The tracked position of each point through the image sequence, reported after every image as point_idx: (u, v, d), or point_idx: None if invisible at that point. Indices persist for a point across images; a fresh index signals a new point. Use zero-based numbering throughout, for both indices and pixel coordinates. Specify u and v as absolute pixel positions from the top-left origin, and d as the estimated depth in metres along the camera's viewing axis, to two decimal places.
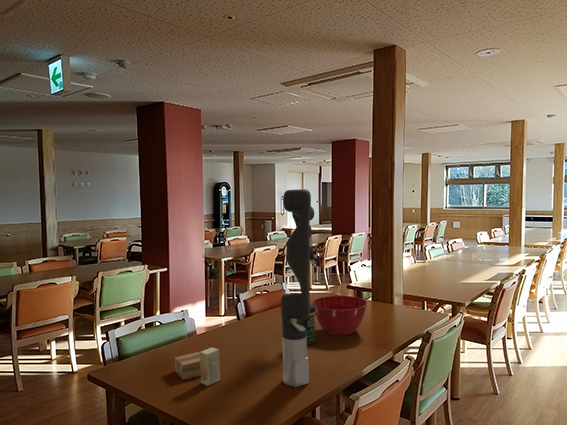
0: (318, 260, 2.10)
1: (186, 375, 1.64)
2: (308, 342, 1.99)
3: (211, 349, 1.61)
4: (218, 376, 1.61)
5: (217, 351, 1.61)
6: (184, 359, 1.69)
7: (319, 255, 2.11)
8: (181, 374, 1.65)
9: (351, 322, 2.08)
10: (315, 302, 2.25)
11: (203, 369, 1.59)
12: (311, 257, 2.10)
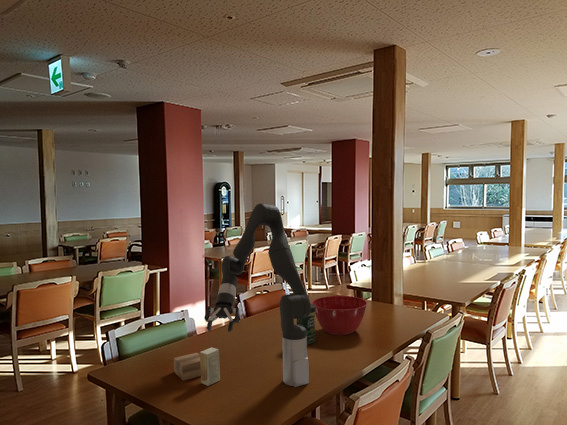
0: (236, 313, 1.76)
1: (186, 376, 1.64)
2: (308, 342, 1.99)
3: (211, 349, 1.61)
4: (218, 376, 1.61)
5: (217, 351, 1.61)
6: (184, 360, 1.68)
7: (239, 312, 1.79)
8: (181, 375, 1.64)
9: (351, 322, 2.08)
10: (315, 302, 2.25)
11: (203, 369, 1.59)
12: (229, 309, 1.78)
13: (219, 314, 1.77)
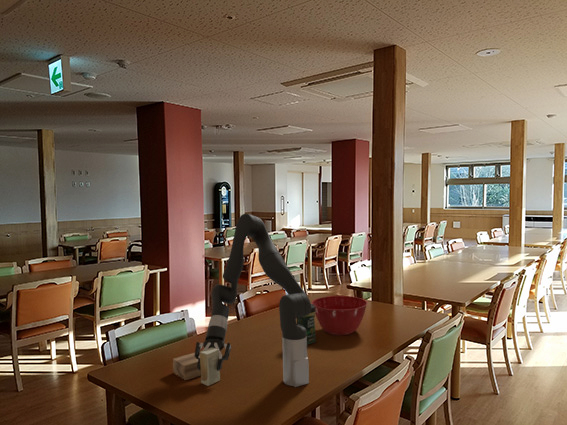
0: (227, 349, 1.63)
1: (188, 375, 1.64)
2: (308, 342, 1.99)
3: (211, 349, 1.61)
4: (218, 376, 1.61)
5: (217, 351, 1.61)
6: (184, 360, 1.68)
7: (230, 348, 1.65)
8: (182, 375, 1.64)
9: (351, 322, 2.08)
10: (315, 302, 2.25)
11: (203, 369, 1.59)
12: (220, 344, 1.64)
13: None
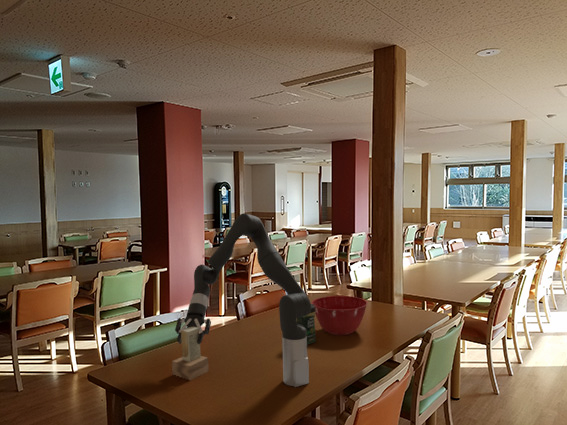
0: (207, 324, 1.72)
1: (193, 375, 1.64)
2: (308, 342, 1.99)
3: (192, 327, 1.71)
4: (198, 353, 1.71)
5: (197, 329, 1.70)
6: (186, 361, 1.67)
7: (210, 323, 1.74)
8: (187, 376, 1.64)
9: (351, 322, 2.08)
10: (315, 302, 2.25)
11: (184, 346, 1.68)
12: (200, 320, 1.74)
13: (190, 325, 1.73)
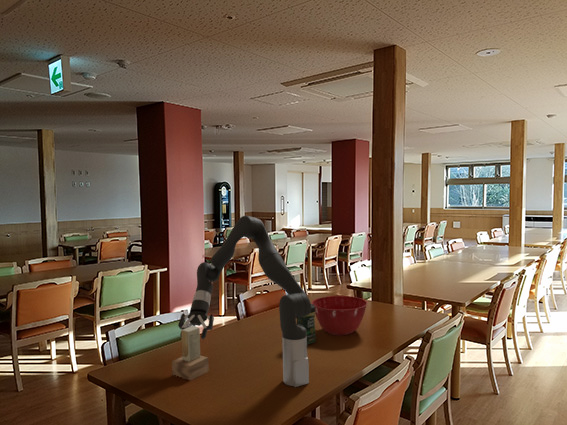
0: (210, 320, 1.77)
1: (193, 375, 1.64)
2: (308, 342, 1.99)
3: (192, 327, 1.70)
4: (198, 353, 1.70)
5: (198, 329, 1.70)
6: (186, 361, 1.67)
7: (213, 319, 1.79)
8: (187, 376, 1.64)
9: (351, 322, 2.08)
10: (315, 302, 2.25)
11: (184, 346, 1.68)
12: (203, 316, 1.78)
13: (193, 321, 1.77)
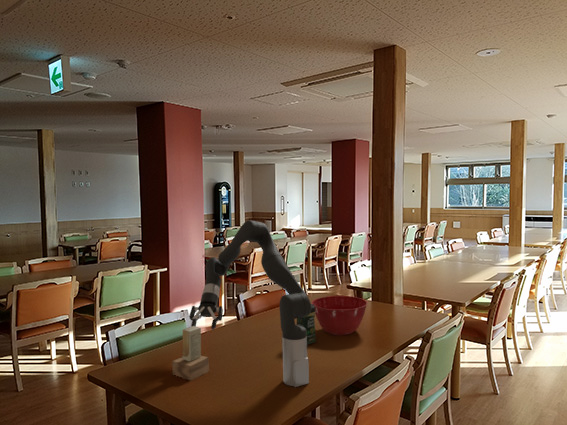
0: (219, 311, 1.85)
1: (193, 375, 1.64)
2: (308, 342, 1.99)
3: (193, 327, 1.70)
4: (199, 353, 1.70)
5: (199, 329, 1.70)
6: (186, 361, 1.67)
7: (222, 310, 1.88)
8: (187, 376, 1.63)
9: (351, 322, 2.08)
10: (315, 302, 2.25)
11: (185, 345, 1.67)
12: (213, 308, 1.87)
13: (203, 313, 1.86)
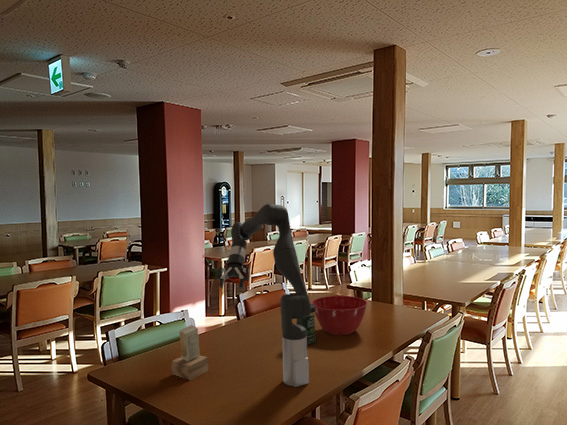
0: (247, 271, 1.89)
1: (192, 375, 1.64)
2: (308, 342, 1.99)
3: (190, 327, 1.69)
4: (197, 352, 1.70)
5: (196, 330, 1.68)
6: (185, 361, 1.67)
7: None
8: (186, 376, 1.64)
9: (351, 322, 2.08)
10: (315, 302, 2.25)
11: (182, 346, 1.67)
12: (240, 268, 1.91)
13: (230, 273, 1.90)
